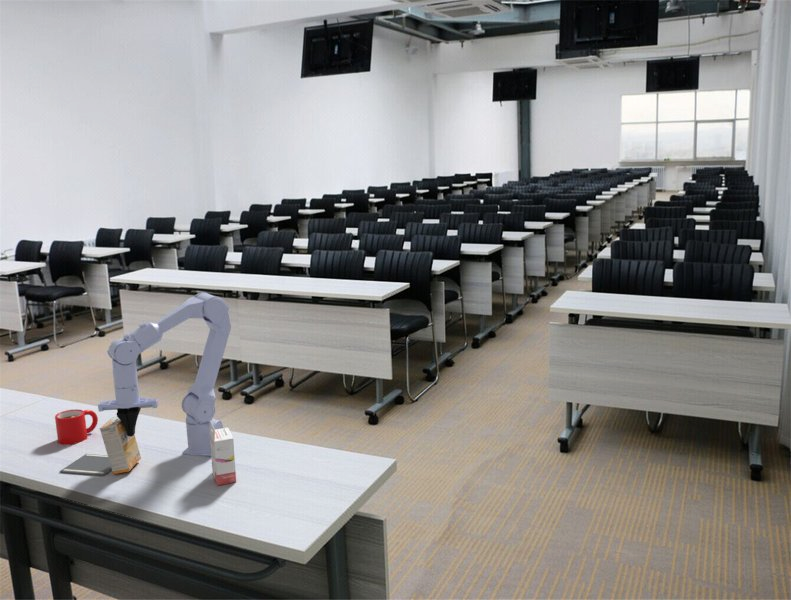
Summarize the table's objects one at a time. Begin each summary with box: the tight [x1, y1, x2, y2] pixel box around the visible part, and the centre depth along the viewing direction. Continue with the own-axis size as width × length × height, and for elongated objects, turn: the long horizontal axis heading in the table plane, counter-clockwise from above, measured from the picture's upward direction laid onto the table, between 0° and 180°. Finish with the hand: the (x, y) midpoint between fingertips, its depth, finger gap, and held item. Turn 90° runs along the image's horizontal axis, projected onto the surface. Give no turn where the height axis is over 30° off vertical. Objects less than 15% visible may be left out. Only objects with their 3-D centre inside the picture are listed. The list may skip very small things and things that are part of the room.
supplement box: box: [99, 416, 142, 475], centre depth 183 cm, size 8×5×13 cm, turn 179°
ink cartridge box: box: [210, 420, 237, 486], centre depth 176 cm, size 9×5×15 cm, turn 23°
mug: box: [54, 409, 99, 446], centre depth 205 cm, size 8×12×8 cm, turn 144°
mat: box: [59, 453, 113, 477], centre depth 186 cm, size 13×11×1 cm
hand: (131, 434), depth 182 cm, fingers closed
